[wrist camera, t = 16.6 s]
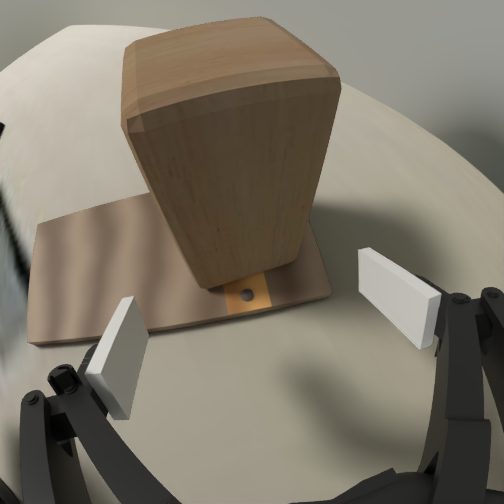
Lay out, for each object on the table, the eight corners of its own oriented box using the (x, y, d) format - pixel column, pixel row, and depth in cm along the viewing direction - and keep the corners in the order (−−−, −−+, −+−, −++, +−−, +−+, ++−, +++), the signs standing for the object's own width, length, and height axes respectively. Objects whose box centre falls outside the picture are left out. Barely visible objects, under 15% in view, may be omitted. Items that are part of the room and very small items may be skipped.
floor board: (34, 345, 25) (25, 342, 24) (43, 229, 32) (36, 223, 31) (329, 296, 28) (333, 291, 27) (287, 174, 35) (288, 165, 34)
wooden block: (178, 211, 31) (120, 41, 13) (264, 186, 32) (269, 12, 14) (200, 295, 27) (112, 121, 9) (299, 263, 28) (354, 74, 10)
